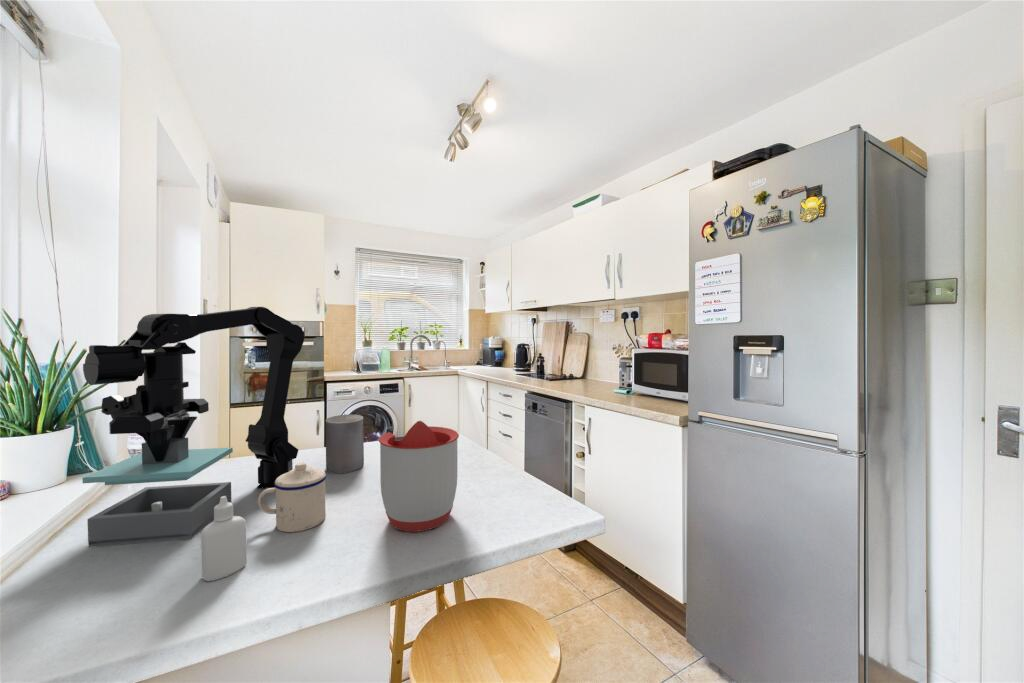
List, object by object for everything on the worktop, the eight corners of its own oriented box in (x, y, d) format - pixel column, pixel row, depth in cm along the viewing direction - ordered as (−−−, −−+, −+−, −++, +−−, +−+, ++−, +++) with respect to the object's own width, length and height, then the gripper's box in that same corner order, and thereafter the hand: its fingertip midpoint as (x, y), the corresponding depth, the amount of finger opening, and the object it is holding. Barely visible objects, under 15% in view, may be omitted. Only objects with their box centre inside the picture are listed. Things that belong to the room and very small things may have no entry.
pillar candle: (330, 462, 112) (329, 410, 112) (366, 460, 115) (365, 409, 114) (322, 475, 103) (321, 418, 102) (361, 472, 105) (361, 416, 105)
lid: (232, 457, 86) (232, 429, 85) (191, 483, 71) (190, 449, 71) (144, 462, 82) (143, 432, 82) (82, 490, 68) (81, 454, 68)
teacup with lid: (330, 508, 84) (329, 454, 83) (322, 529, 75) (321, 469, 75) (266, 516, 80) (265, 459, 80) (250, 539, 72) (249, 476, 71)
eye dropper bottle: (207, 568, 63) (205, 494, 62) (248, 560, 65) (247, 488, 65) (198, 584, 59) (196, 505, 59) (243, 575, 61) (241, 499, 61)
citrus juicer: (427, 493, 92) (427, 408, 91) (474, 519, 80) (474, 420, 79) (361, 515, 81) (360, 418, 80) (404, 549, 69) (404, 435, 68)
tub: (231, 504, 86) (231, 482, 85) (192, 538, 72) (191, 511, 72) (146, 510, 83) (145, 487, 82) (88, 547, 69) (87, 519, 69)
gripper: (150, 373, 84) (152, 446, 84) (70, 386, 66) (73, 479, 66) (209, 372, 86) (210, 443, 86) (147, 385, 68) (150, 474, 68)
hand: (166, 458), depth 77 cm, fingers closed on lid, 3 cm apart
